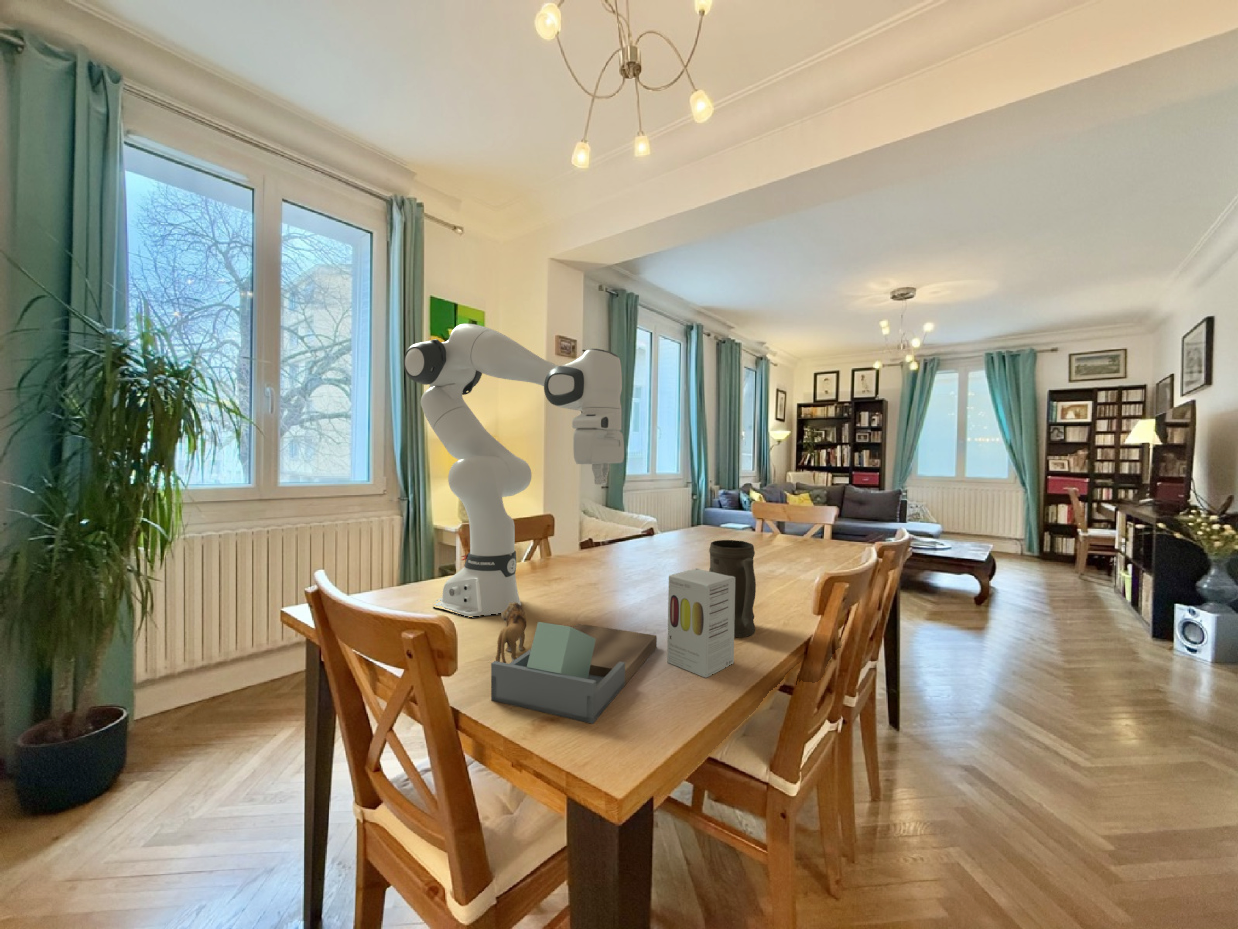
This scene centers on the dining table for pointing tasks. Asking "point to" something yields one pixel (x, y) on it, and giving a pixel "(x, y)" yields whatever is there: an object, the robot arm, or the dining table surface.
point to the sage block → (561, 650)
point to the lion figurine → (512, 631)
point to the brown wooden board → (618, 649)
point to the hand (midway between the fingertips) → (600, 484)
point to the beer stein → (737, 579)
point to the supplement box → (701, 621)
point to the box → (555, 689)
